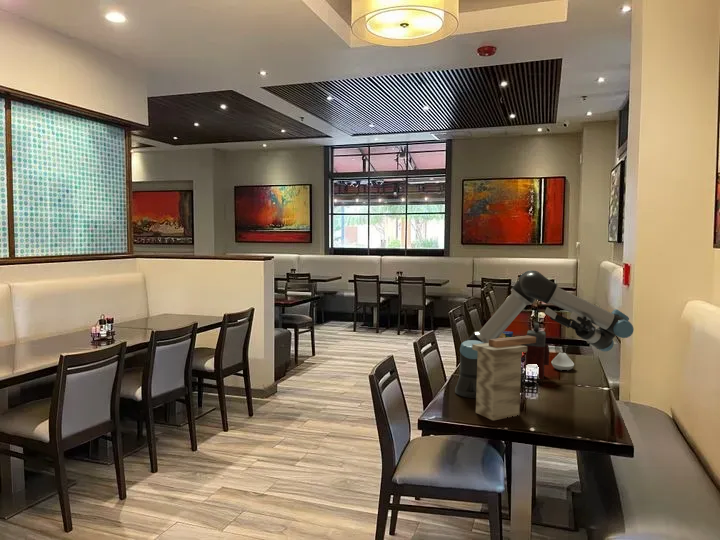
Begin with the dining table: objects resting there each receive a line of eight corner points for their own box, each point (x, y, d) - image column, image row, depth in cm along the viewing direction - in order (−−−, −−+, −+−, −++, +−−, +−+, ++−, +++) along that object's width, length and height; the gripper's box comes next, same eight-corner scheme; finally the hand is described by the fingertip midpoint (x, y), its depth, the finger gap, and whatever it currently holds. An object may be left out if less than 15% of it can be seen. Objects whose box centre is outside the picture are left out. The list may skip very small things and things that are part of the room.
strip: (488, 345, 206) (488, 339, 205) (528, 341, 216) (528, 335, 216) (495, 347, 202) (495, 341, 202) (535, 342, 212) (536, 337, 212)
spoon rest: (574, 373, 275) (575, 360, 274) (551, 371, 278) (552, 358, 278) (571, 363, 297) (572, 351, 297) (550, 361, 301) (550, 349, 300)
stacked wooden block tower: (470, 412, 208) (472, 344, 207) (503, 406, 217) (505, 340, 215) (490, 422, 198) (493, 350, 196) (524, 415, 206) (527, 346, 205)
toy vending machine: (548, 380, 259) (550, 325, 257) (525, 377, 263) (527, 323, 261) (548, 376, 267) (550, 322, 266) (526, 373, 271) (528, 321, 270)
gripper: (609, 344, 217) (580, 324, 207) (561, 334, 239) (533, 316, 229) (615, 328, 218) (586, 308, 208) (567, 320, 240) (539, 300, 230)
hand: (558, 312), depth 219 cm, fingers open, 13 cm apart
